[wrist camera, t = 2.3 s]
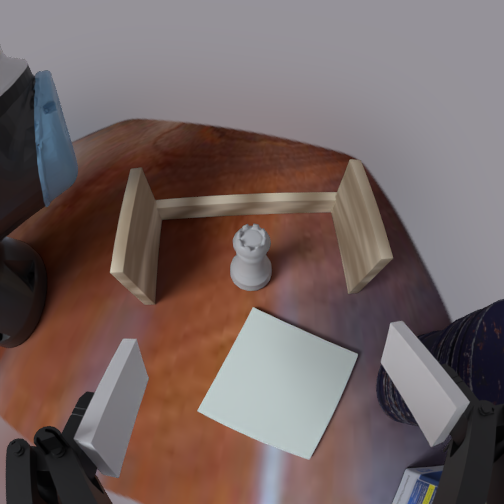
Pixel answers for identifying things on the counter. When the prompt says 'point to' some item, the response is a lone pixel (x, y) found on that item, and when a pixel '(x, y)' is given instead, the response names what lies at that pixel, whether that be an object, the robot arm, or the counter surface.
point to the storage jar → (459, 359)
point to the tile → (279, 384)
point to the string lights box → (418, 485)
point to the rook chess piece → (251, 258)
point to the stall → (338, 203)
